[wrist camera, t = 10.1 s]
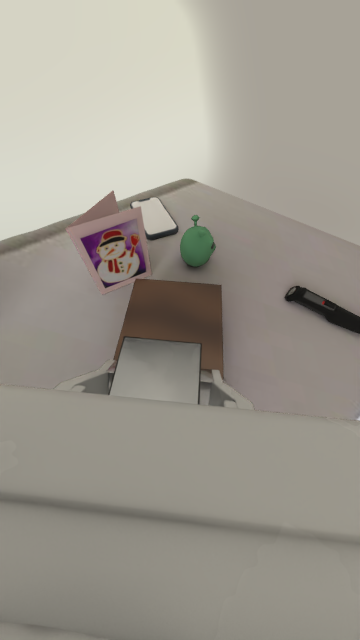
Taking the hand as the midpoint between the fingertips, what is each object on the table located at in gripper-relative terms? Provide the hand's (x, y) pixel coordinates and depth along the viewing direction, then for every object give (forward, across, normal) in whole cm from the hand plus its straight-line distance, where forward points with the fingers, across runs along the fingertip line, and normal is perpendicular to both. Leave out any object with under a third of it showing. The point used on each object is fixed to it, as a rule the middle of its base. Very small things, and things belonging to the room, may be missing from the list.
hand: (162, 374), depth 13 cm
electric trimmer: (+27, -28, -1) cm, 39 cm away
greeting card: (+31, +14, -4) cm, 35 cm away
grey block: (+4, 0, +5) cm, 6 cm away
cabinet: (+21, +1, +6) cm, 22 cm away
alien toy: (+36, -2, -9) cm, 37 cm away
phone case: (+46, +10, -19) cm, 51 cm away
